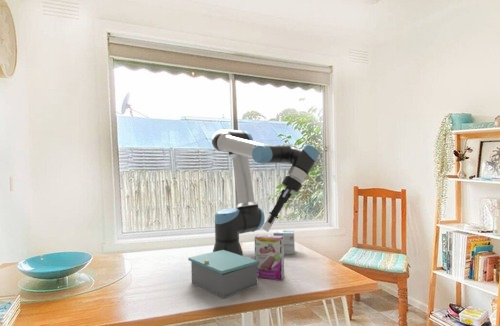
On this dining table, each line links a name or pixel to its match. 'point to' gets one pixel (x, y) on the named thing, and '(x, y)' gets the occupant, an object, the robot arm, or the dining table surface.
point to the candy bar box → (269, 256)
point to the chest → (224, 279)
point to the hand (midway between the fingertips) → (265, 230)
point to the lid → (222, 261)
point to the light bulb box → (287, 240)
